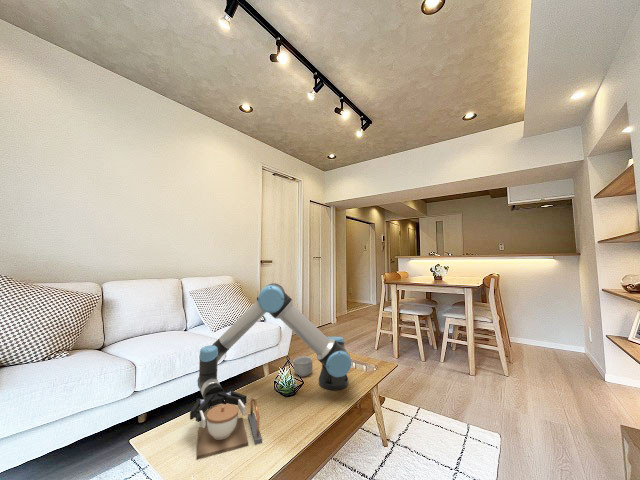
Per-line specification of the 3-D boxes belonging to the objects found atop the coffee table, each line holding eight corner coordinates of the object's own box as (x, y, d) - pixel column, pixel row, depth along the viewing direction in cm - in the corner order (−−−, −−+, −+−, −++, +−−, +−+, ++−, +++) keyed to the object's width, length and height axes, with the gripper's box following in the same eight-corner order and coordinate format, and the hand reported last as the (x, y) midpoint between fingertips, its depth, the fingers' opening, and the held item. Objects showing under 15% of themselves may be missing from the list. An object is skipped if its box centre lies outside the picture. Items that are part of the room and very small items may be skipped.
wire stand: (254, 416, 108) (254, 413, 108) (262, 442, 92) (262, 438, 92) (248, 418, 107) (248, 414, 107) (255, 444, 91) (255, 440, 91)
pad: (242, 420, 106) (242, 417, 106) (248, 445, 91) (248, 442, 91) (198, 430, 99) (198, 427, 99) (196, 459, 85) (196, 456, 85)
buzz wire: (252, 414, 107) (253, 389, 107) (259, 436, 93) (259, 408, 94) (250, 414, 106) (250, 390, 107) (256, 437, 93) (257, 409, 93)
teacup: (309, 379, 141) (309, 363, 142) (290, 377, 144) (290, 362, 144) (315, 369, 155) (315, 354, 156) (297, 367, 157) (297, 353, 158)
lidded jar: (229, 421, 103) (230, 396, 104) (243, 434, 95) (243, 406, 96) (201, 434, 95) (202, 406, 96) (213, 449, 88) (214, 419, 88)
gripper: (242, 393, 117) (259, 416, 100) (178, 411, 104) (184, 441, 86) (242, 375, 118) (259, 395, 100) (179, 391, 104) (185, 417, 87)
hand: (224, 417), depth 93 cm, fingers open, 13 cm apart
